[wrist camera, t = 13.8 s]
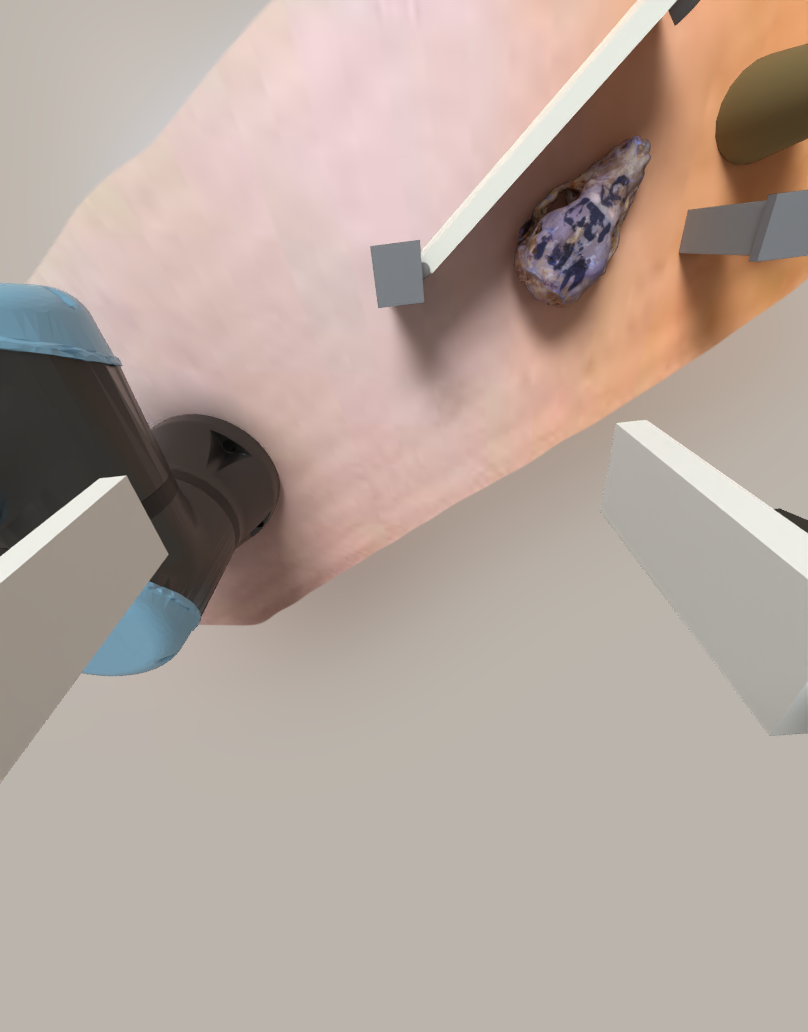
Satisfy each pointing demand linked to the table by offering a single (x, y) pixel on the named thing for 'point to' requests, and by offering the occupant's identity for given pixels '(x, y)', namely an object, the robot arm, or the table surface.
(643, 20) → the gate
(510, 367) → the table surface
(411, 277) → the hinge post
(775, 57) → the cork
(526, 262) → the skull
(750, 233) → the post
